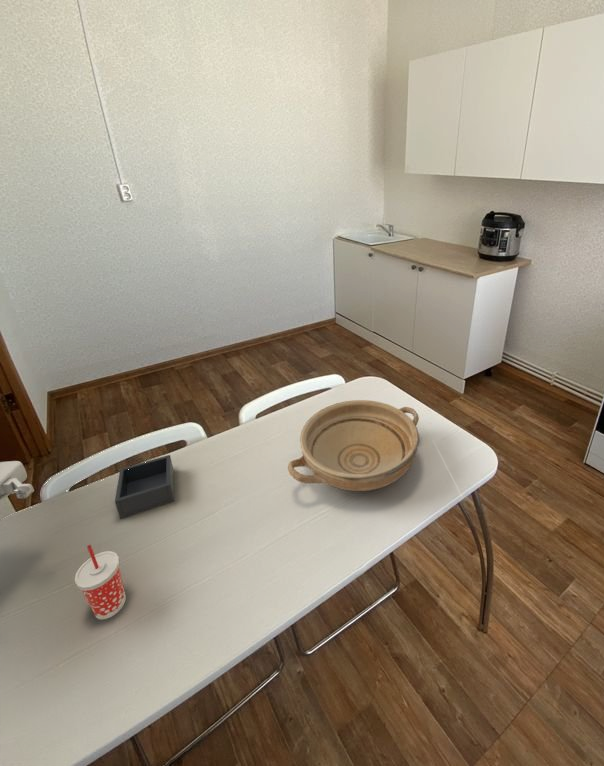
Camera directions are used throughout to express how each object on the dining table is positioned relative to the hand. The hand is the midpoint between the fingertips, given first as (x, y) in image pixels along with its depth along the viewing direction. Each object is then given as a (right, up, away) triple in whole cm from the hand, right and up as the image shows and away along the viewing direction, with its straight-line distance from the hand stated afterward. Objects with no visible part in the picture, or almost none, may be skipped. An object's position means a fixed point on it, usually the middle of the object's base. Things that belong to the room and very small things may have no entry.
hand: (5, 515), depth 60 cm
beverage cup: (+12, -19, +6) cm, 24 cm away
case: (+6, -10, +29) cm, 32 cm away
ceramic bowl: (+55, -7, +36) cm, 67 cm away
